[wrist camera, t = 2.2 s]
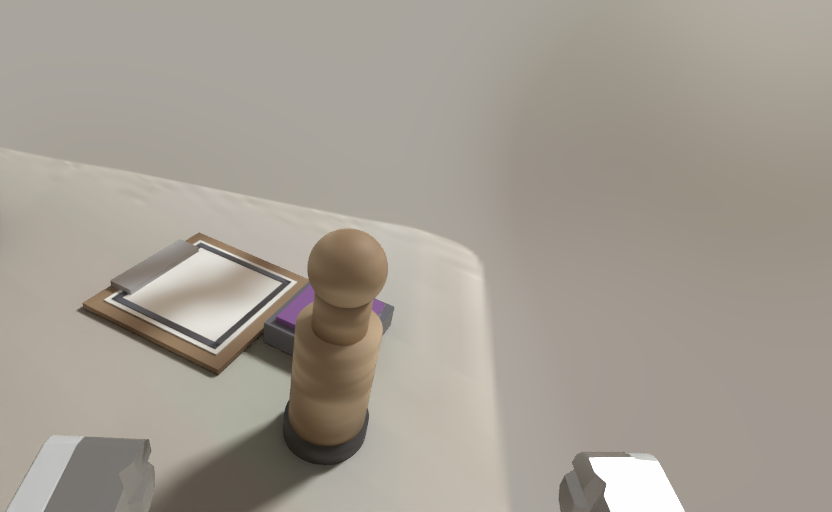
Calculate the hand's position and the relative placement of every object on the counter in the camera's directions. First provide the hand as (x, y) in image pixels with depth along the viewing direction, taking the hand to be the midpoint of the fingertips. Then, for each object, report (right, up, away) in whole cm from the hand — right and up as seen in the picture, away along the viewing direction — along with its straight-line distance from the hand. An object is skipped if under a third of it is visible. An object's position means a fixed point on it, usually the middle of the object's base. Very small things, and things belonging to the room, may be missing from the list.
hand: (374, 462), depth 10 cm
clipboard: (-13, +1, +25) cm, 28 cm away
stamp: (-4, -5, +18) cm, 20 cm away
